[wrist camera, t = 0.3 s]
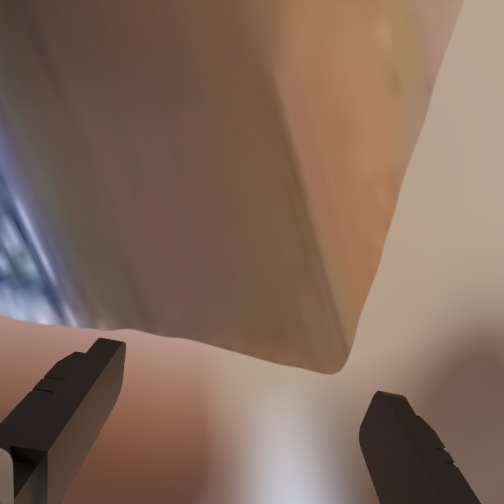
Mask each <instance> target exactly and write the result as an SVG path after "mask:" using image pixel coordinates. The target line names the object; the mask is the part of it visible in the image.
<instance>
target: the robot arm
mask: <svg viewBox="0 0 504 504" xmlns="http://www.w3.org/2000/svg"><path fill="white" fill-rule="evenodd" d="M125 353H126V343H125V342H121V341H116V340H111V339H105V338H99V339H98V340H97V341H96V342H95V343H94V344H93V345H92V347H91V348H90V349H89V350H88V351H87V352H86V353H81V352H74V353H72V354H71V355H69V356H67V357H65V358H64V359H62V360H60V361H58V362H57V363H56V364H55V365H54V366H53V367H52V368H51V370H50V371H49V372H48V373H47V374H46V375H45V376H44V379H41V380H40V381H39V382H38V384H37V385H36V386H35V387H34V388H33V390H32V392H31V391H30V392H29V393H28V394H27V395H26V397H25V398H24V399H23V400H22V401H21V402H20V403H19V404H18V405H17V406H16V407H15V408H14V410H13V411H12V412H11V413H10V414H9V415H8V416H7V417H6V418H5V419H4V420H3V421H2V422H1V424H0V504H61V502H62V501H63V499H64V497H65V495H66V493H67V491H68V490H69V488H70V486H71V484H72V482H73V480H74V479H75V477H76V475H77V473H78V471H79V469H80V468H81V466H82V464H83V462H84V460H85V459H86V457H87V455H88V453H89V451H90V449H91V448H92V446H93V444H94V442H95V440H96V438H97V437H98V435H99V433H100V431H101V429H102V427H103V426H104V424H105V422H106V420H107V418H108V416H109V415H110V413H111V410H112V409H113V407H114V405H115V404H116V401H117V399H118V397H119V394H120V390H121V387H122V381H123V372H124V362H125ZM359 442H360V447H361V451H362V453H363V456H364V459H365V462H366V465H367V468H368V470H369V473H370V476H371V479H372V482H373V484H374V487H375V490H376V493H377V496H378V499H379V501H380V504H481V503H480V501H479V500H478V498H477V497H476V495H475V494H474V492H473V490H472V489H471V487H470V486H469V484H468V483H467V481H466V479H465V478H464V476H463V475H462V473H461V472H460V470H459V468H458V467H456V466H455V462H454V461H453V459H452V457H451V456H450V454H449V453H448V452H446V448H445V447H444V445H443V443H442V442H441V440H440V439H439V437H438V436H437V434H436V432H435V431H434V430H433V429H432V428H431V427H430V426H429V425H428V424H427V423H426V422H425V421H424V420H423V419H422V418H421V417H420V416H417V415H416V414H415V412H414V411H413V409H412V407H411V406H410V404H409V403H408V401H407V399H406V398H405V397H404V396H403V395H398V394H393V393H388V392H383V391H377V392H376V393H375V395H374V396H373V398H372V401H371V403H370V405H369V408H368V410H367V412H366V415H365V417H364V419H363V421H362V424H361V426H360V431H359Z"/></svg>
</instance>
